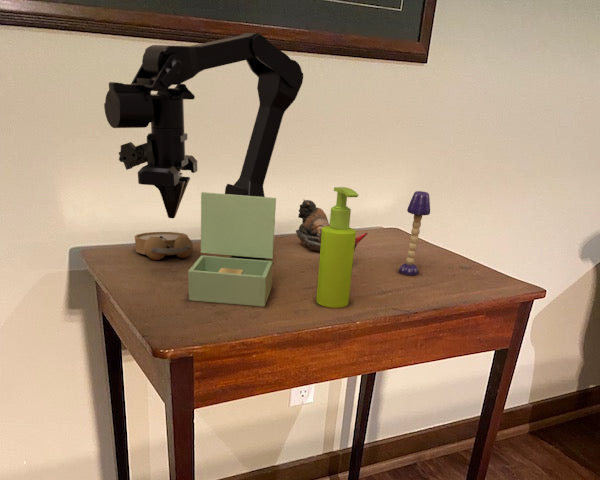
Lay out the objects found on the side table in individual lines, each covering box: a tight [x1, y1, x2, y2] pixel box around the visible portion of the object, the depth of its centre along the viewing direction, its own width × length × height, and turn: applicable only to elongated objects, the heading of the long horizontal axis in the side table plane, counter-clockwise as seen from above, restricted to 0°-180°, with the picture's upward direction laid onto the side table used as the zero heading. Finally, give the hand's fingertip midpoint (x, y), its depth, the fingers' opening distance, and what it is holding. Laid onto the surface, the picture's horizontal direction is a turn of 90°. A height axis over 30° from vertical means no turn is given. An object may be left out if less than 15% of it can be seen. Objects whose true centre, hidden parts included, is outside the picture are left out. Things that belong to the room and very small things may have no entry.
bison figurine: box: [295, 199, 330, 252], centre depth 143 cm, size 12×7×10 cm, turn 27°
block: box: [219, 268, 243, 274], centre depth 109 cm, size 4×4×4 cm
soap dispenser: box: [315, 186, 359, 309], centre depth 107 cm, size 6×7×20 cm
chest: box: [187, 254, 274, 308], centre depth 111 cm, size 10×13×5 cm
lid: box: [200, 191, 277, 260], centre depth 112 cm, size 11×13×1 cm
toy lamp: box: [398, 190, 431, 276], centre depth 128 cm, size 5×5×17 cm
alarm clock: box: [134, 231, 193, 261], centre depth 132 cm, size 11×5×15 cm
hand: (171, 217), depth 116 cm, fingers closed
